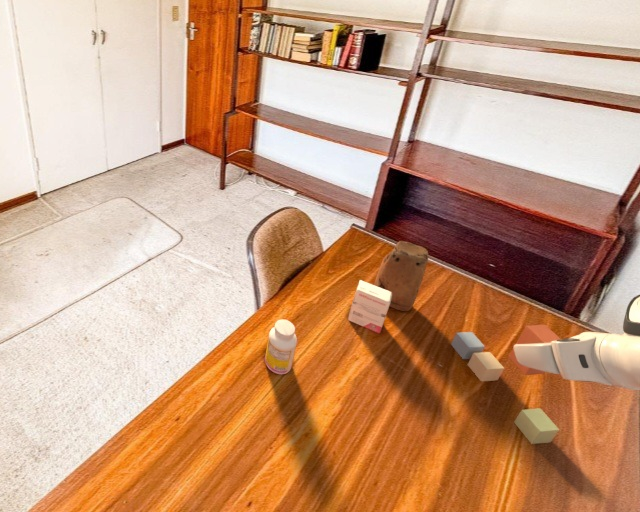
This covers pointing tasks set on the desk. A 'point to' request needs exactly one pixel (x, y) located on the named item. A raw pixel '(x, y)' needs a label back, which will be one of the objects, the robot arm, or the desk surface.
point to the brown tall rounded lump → (402, 274)
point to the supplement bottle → (281, 347)
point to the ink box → (370, 306)
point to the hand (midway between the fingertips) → (535, 348)
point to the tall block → (533, 336)
